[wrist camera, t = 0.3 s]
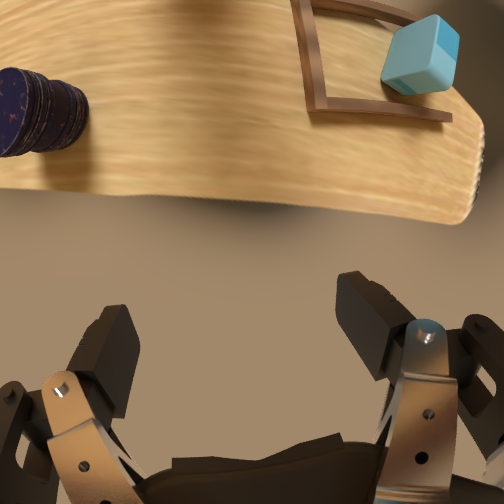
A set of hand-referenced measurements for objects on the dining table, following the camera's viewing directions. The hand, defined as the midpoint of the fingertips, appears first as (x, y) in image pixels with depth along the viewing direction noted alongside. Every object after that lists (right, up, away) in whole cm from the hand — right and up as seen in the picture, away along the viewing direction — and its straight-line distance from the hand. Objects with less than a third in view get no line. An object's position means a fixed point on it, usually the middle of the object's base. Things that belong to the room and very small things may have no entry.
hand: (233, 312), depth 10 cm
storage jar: (-26, +21, +19) cm, 39 cm away
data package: (+24, +32, +22) cm, 46 cm away
